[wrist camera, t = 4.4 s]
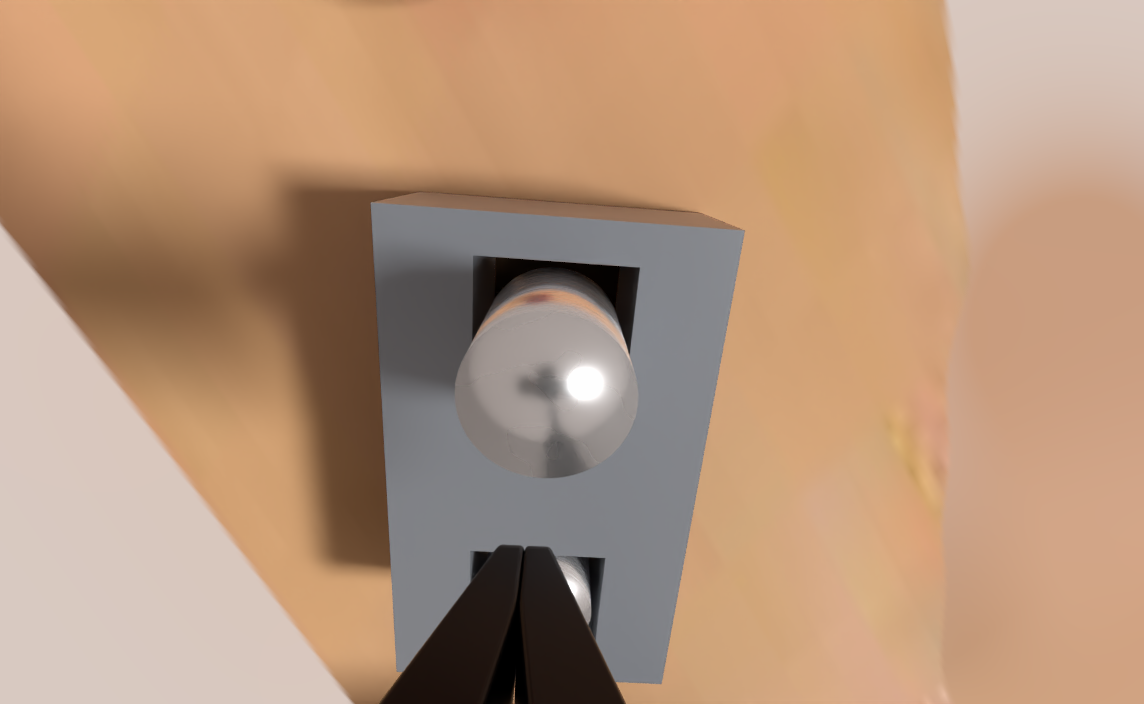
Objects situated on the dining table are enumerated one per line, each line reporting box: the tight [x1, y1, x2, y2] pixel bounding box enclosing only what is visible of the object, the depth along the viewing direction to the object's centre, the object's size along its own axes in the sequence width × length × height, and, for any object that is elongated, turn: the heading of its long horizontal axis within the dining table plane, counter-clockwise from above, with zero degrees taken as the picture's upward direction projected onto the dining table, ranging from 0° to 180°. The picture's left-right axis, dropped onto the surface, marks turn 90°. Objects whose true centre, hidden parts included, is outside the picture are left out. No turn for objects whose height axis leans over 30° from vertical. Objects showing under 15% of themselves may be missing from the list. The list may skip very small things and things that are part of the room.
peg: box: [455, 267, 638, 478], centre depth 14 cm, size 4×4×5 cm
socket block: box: [371, 192, 745, 684], centre depth 19 cm, size 17×10×5 cm, turn 176°
